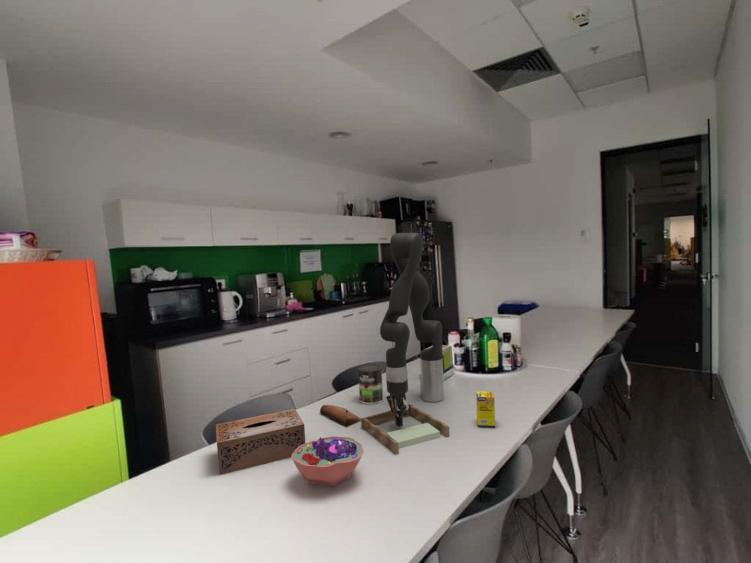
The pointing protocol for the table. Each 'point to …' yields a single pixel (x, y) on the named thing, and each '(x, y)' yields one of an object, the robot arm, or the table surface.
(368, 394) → the coffee can
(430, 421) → the open wooden frame
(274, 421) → the tissue box cover
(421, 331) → the robot arm
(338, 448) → the cell model
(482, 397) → the supplement box
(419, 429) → the cover plate
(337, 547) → the table surface
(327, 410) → the sunglasses case
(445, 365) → the tea box
